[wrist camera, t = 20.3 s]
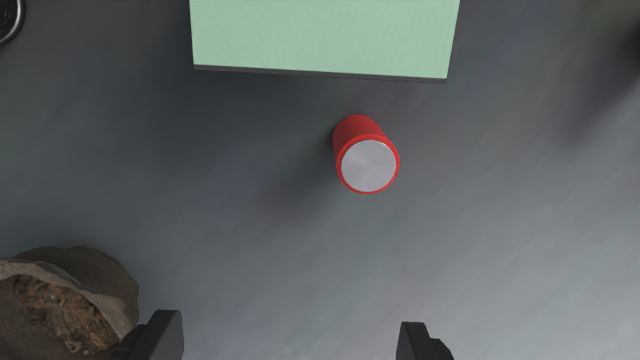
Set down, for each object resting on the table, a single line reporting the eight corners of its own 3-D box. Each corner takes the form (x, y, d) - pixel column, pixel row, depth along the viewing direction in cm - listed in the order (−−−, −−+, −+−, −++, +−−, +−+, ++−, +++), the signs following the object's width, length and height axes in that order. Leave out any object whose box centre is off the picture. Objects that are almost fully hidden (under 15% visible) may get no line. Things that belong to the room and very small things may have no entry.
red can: (323, 148, 39) (324, 178, 29) (347, 105, 37) (357, 123, 28) (364, 169, 40) (379, 206, 30) (389, 128, 38) (413, 154, 28)
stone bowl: (160, 222, 42) (120, 272, 33) (176, 363, 52) (149, 428, 44) (-51, 206, 41) (-148, 254, 32) (8, 353, 51) (-53, 418, 43)
